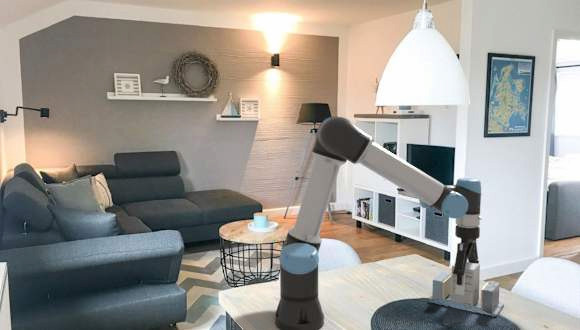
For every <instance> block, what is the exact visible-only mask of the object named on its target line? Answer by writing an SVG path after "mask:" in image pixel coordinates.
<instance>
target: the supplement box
mask: <svg viewBox="0 0 580 330" xmlns="http://www.w3.org/2000/svg"><path fill="white" fill-rule="evenodd" d="M454 267H455V263H453V265H451V275H452V278H451V301H454V302H459V303H462V304H466V305H470V306H474V305H475V304H476V303H477V301H478V300H479V298H480V276H481V275H480V270H481V265H480V264H477V263H470V262H469V261H467V263H466V267H465V272H464V275H465V293H464V295H460V294H455V285H456V274H453V271H454ZM458 271H460V270H458Z"/></svg>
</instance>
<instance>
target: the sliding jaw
mask: <svg viewBox="0 0 580 330" xmlns="http://www.w3.org/2000/svg"><path fill="white" fill-rule="evenodd" d="M451 278H452V272H445V271H442V272H440V273H439V274H438V275H437V276H435V277H434V278H433V279H432V295H431V296H432V299H438V300H444V299H445V298H446V297H447V296H448V295H449V294H450V293H451Z"/></svg>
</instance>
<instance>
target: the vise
mask: <svg viewBox="0 0 580 330" xmlns="http://www.w3.org/2000/svg"><path fill="white" fill-rule="evenodd" d="M428 299H432V295H431V296H430V297H429V298H428ZM445 299H446V300H451V293H450V294H449V295H448V296H447V297H446V298H445ZM474 306H476V307H479V308H481V309H482V310H483V311H485V312H487V313H490V314H493V315H498V316H499V314H500V312H502V310H503V308H504V307H505V303H504V302H500V281H499V282H498V281H494V280H490V281H487V282H486V283H485V284H484V286H483V287H482V288H481V289H480V297H479V300H478V301H477V303H476V304H475V305H474Z"/></svg>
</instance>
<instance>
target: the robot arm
mask: <svg viewBox="0 0 580 330" xmlns="http://www.w3.org/2000/svg"><path fill="white" fill-rule="evenodd" d="M372 137H373V136H371V135H370V134H368V133H366V132H365V131H363V130H362V129H361V128H359V127H358V126H357V125H356V124H355V123H353V122H352V121H351V120H349V119H348V118H346V117H344V116H343V117H342V116H338V115H337V116H330V117H327V118H325V119H323V121H322V122H320V124H319V125H318V127H317V129H316V138H315V141H314V143H313V148H312V151H311V153H312V155H313V157H314V159H313V160H314V161H313V163H312V167H311V171H310V174H309V177H308V180H307V184H306V187H305V190H304V193H303V197H302V200H301V203H300V206H299V211H298V213H297V216H296V220H295V223H294V227H292V228H290V229H288V231H287V234H286V237H285V242H284V243H283V245H282V246H281V250H280V253H279V259H278V260H279V270H280V271H279V274H280V275H279V279H280V282H279V283H280V284H279V287H280V288H279V289H280V290H279V291H280V292H279V293H280V295H279V296H280V298H279V302H278V303H277V304H278V305H277V307H276V311H275V315H274V324H275V326H276V327H277V328H278V329H279V330H319V329H321V328H323V327H324V324H325V314H324V312H323V307H322V306H321V305H322V304H321V303H320V299H319V262H320V259H319V258H320V257H319V251H320V247H321V244H322V239H321V237H320V232H321V229H322V225H323V223H324V219H325V217H326V213H327V210H328V206H329V203H330V201H331V198H332V197H331V196H332V194H333V190H334V187H335V184H336V180H337V177H338V174H339V171H340V167H341V166H343V165H345V164H346V163H347V162H348V161H349V162H350V163H352V164H353V165H356V164H360V165H362V166H364V167H365V168H367V169H369V170H370V171H372V172H373V173H375V174H377V175H378V176H380V177H382V178H384V179H385V180H387V181H389V182H390V183H392V184H393V185H394V186H397V187H398V188H400V189H402V190H404V191H405V192H407V193H408V194H410V195H412V196H414V197H415V198H417V199H418V201H419V204H420V207H422V208H423V209H430V210H431V209H435V210H436V211H439V213H442V214H443V215H444V216H446V217H447V218H449V219H455V224H456V225H455V233H454V234H455V236H456V238H459V239H460V242H458V243H457V246H456V247H457V248H456V254H455V262H454V264H455V267H454V271H453V274H456V285H455V294H460V295H464V293H465V275H464V272H465V267H466V263H467V262H470V263H476V264H479V263H480V260H479V256H478V255H479V254H478V245H477V239H479V238H480V236H481V235H480V230H481V229H480V225H481V224H480V223H481V220H482V219H483V218H482V216H481V201H482V185H481V181H480V180H479V179H477V178H471V177H470V178H469V177H467V178H466V177H462V178H461V177H460V178H458V179H457V180H456V183H455V184H452V185H451V184H450V185H448V184H447V185H446V184H443V183H442V182H440V181H439V180H437V179H435V178H433V177H432V176H430V175H429V174H427V173H425V172H424V171H422V170H421V169H419V168H417V167H415V166H414V165H412V164H410V163H409V162H408V161H406V160H404V159H403V158H401V157H399V156H397V155H396V154H395V153H392V152H391V151H389V149H388V150H387V148H384V147H383V146H381V145H379V144H378V143H376V142H374V141H373V138H372ZM458 270H460V271H458Z"/></svg>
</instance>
